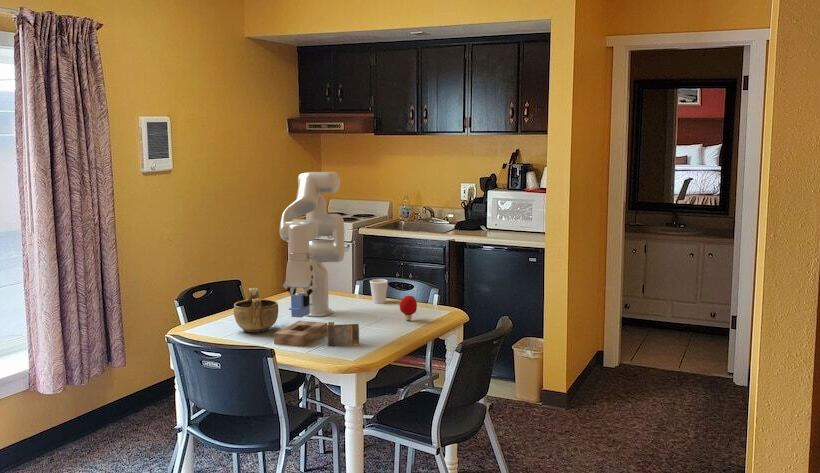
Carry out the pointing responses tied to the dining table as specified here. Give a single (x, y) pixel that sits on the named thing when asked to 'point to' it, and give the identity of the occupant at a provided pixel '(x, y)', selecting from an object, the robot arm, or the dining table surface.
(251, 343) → the dining table surface
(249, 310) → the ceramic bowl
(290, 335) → the brown wooden flat block
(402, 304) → the light bulb
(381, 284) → the dixie cup
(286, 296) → the dining table surface
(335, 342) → the ruin model on sheet
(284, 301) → the dining table surface
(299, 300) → the servo
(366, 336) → the dining table surface
